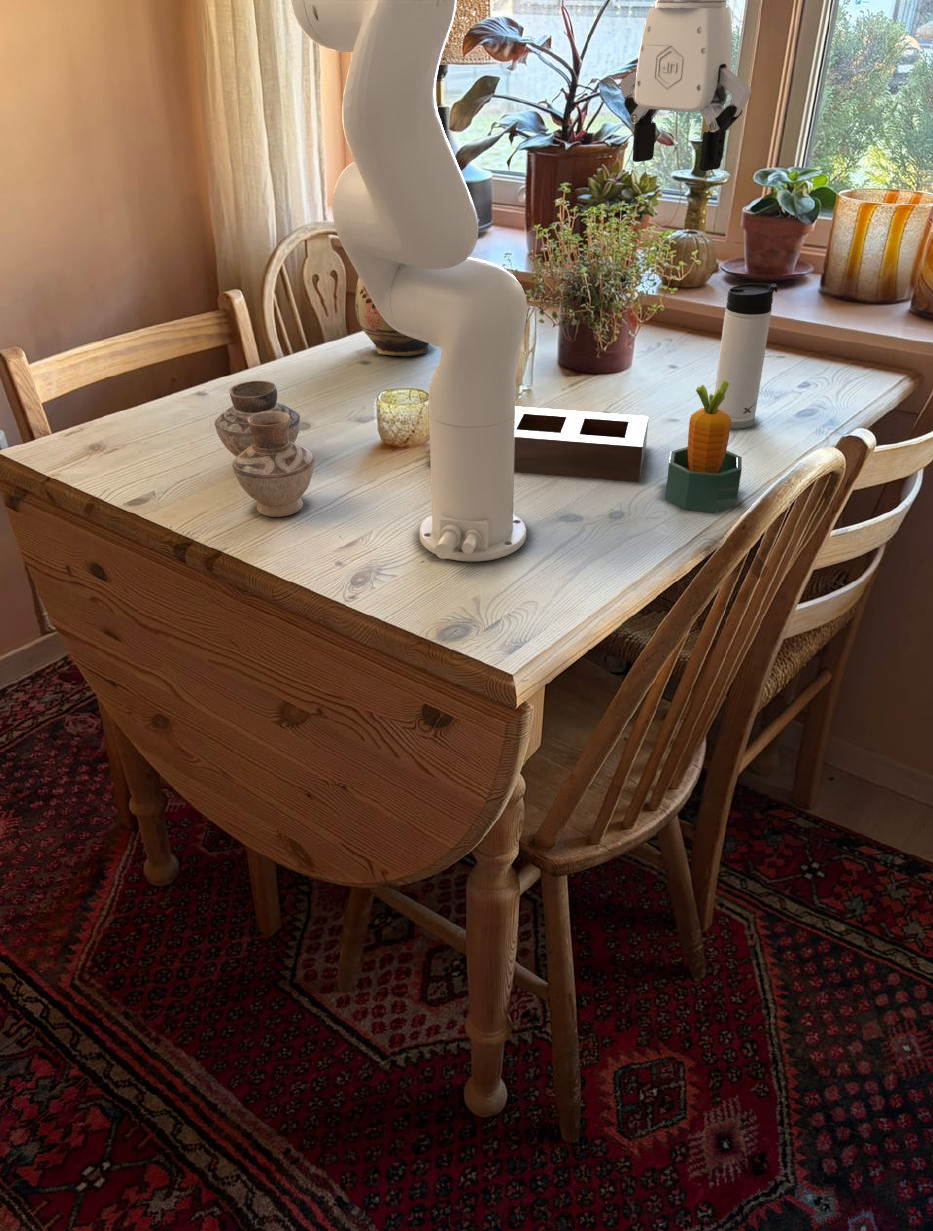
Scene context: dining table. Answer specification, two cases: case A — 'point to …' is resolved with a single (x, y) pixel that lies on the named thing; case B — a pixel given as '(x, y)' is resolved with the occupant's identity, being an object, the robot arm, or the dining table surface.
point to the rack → (580, 443)
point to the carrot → (708, 432)
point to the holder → (703, 483)
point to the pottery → (266, 448)
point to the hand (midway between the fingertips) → (675, 165)
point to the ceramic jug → (383, 328)
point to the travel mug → (744, 350)
